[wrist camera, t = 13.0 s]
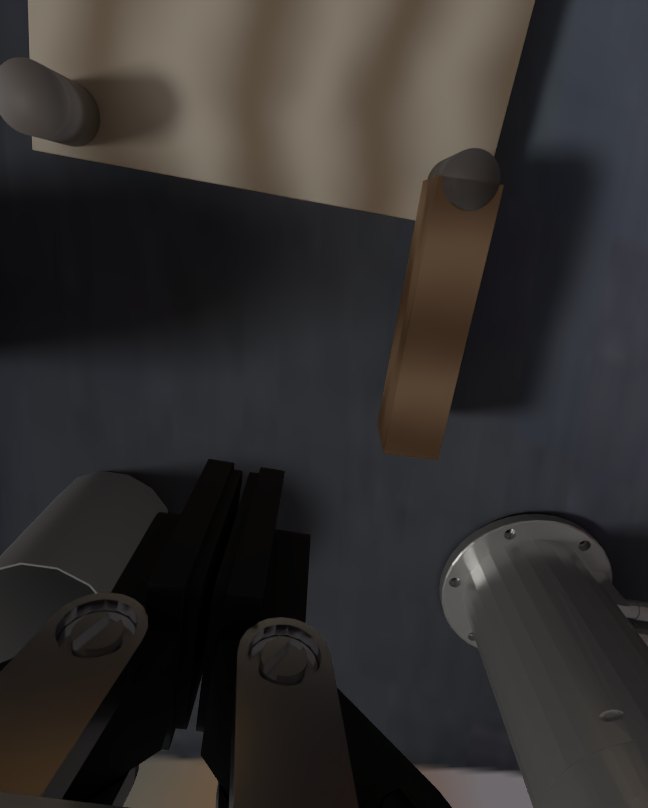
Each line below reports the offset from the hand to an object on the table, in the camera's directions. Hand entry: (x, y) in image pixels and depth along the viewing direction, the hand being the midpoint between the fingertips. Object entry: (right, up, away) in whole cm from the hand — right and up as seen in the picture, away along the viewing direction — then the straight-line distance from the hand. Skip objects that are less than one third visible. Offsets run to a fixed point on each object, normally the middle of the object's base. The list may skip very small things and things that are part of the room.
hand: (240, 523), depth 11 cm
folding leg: (+8, +8, +18) cm, 21 cm away
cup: (-14, -6, +26) cm, 30 cm away
